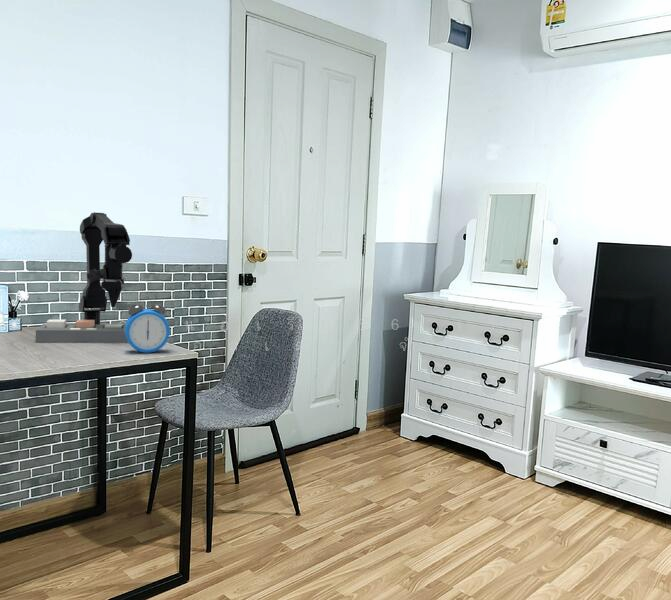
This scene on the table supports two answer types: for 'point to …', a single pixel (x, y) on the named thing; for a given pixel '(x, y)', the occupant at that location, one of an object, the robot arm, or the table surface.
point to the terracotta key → (85, 324)
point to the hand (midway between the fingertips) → (113, 307)
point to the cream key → (56, 323)
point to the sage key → (113, 326)
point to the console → (81, 334)
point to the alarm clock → (147, 328)
